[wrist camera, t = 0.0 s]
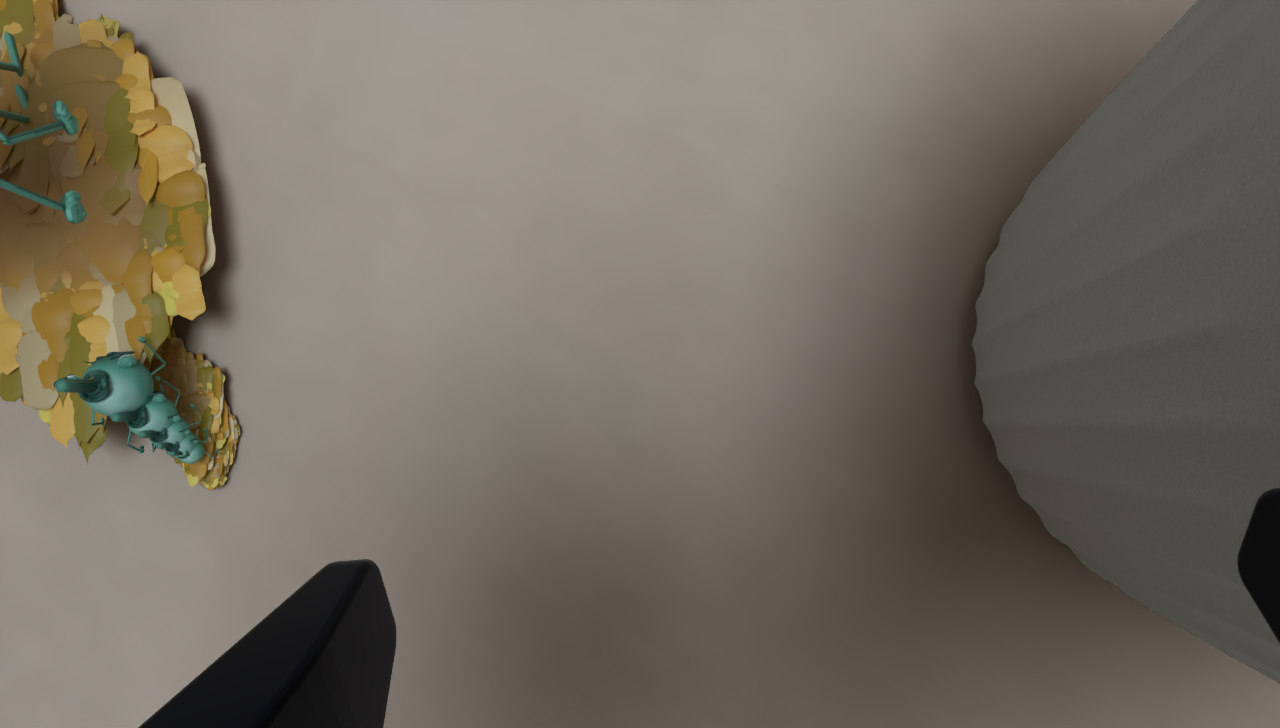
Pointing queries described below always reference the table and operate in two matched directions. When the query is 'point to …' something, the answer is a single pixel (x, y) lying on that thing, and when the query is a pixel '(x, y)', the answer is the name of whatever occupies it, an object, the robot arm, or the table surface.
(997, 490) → the table surface
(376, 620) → the robot arm
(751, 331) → the table surface
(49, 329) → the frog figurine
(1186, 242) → the canister
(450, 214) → the table surface
